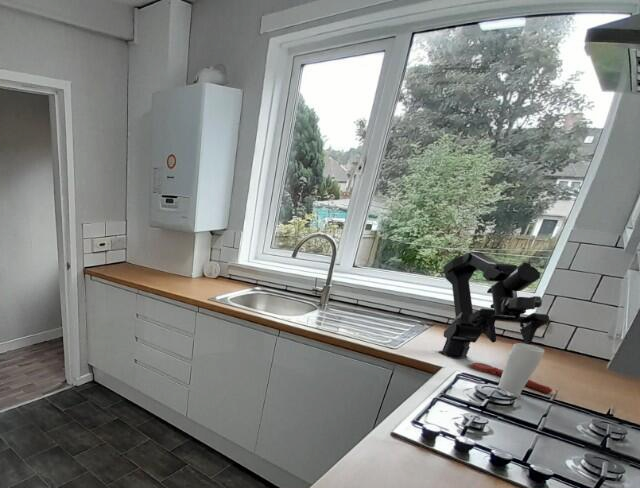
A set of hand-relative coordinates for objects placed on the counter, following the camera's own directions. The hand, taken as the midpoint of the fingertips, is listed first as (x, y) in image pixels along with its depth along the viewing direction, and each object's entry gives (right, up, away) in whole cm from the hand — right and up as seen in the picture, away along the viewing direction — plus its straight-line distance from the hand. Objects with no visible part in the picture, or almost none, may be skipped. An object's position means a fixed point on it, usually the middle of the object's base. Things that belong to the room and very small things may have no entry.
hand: (511, 343), depth 123 cm
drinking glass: (-3, -15, -2) cm, 16 cm away
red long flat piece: (+8, -11, +9) cm, 16 cm away
